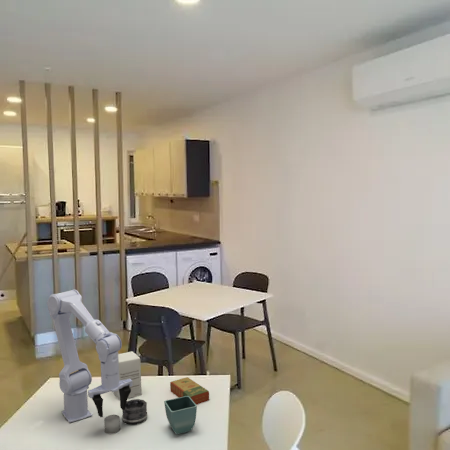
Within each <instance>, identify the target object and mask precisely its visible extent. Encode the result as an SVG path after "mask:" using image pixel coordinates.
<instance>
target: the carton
mask: <svg viewBox="0 0 450 450" xmlns="http://www.w3.org/2000/svg"><path fill="white" fill-rule="evenodd" d="M169 383H170V384H169V385H170V387H169V388H170V392H171V393H172V394H173V395H175V397H176V398H180V397H184V396H189V397H190V398H191V399H192V400H193V402H194V403H195V404H196V405H197V406H198V405H200V404H203V403H206V402H209V401H210V392H209V390H208V389H207V388H205V387H203V386H202V385H200V384H198V383H197V382H196V381H194V380H192V379H191V378H190V377H187V376H186V377H183V378H179V379H176V380H173V381H170V382H169Z"/></svg>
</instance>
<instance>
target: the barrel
mask: <svg viewBox="0 0 450 450" xmlns="http://www.w3.org/2000/svg"><path fill="white" fill-rule="evenodd" d="M147 404H148V402H147V401H145V400H144V399H141V398H140V399H139V398H137V399H130V400H127V402H126V406H125V410H122V409H121V411H122V416H121V417H122V418H121V420H122V422H123V424H125V425H130V426H137V425H140V424H142V423H144V422H145V421H147V420H148V410H147V409H148V408H147V407H148V406H147Z"/></svg>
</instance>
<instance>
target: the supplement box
mask: <svg viewBox="0 0 450 450" xmlns="http://www.w3.org/2000/svg"><path fill="white" fill-rule="evenodd" d="M118 360H119V381H120V380H127V379H131V380H132V385H133V386H131V387H130V388H131V392H130V394H129V396H128V399H131V398H132V399H133V398H135V397H139V396H142V373H141V372H142V370H141V365H142V364H141V358H140V357H139V356H138V355H137V354H136V353H135V351H128V352H123V353H118ZM113 394H114V395H115V397H116V398H117V399H118V400H119V401H120V394H119V389H118V391H115V392H114V393H113Z"/></svg>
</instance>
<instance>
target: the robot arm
mask: <svg viewBox="0 0 450 450" xmlns="http://www.w3.org/2000/svg"><path fill="white" fill-rule="evenodd" d="M46 305H47V308H48V313H49V316H50V319H52V322H53V326H54V330H55V334H56V338H57V342H58V346H59V349H60V353H61V358H62V361H63V367H62V369H61V370H60V371H59V373H58V378H59V389H60V390H61V393H63V409H64V410H62V411H61V414H62V415H63V417H64V418H65V419H66V420H67V421H68V423H74V422H77V421H80V420H83V419H86V418H89V417H92V416H93V414H92V412H91V411H90V410H89V409H88V408H89V407H88V406H89V405H88V401H89V400H88V398H89V399H91V400H92V401H93V403H94V405H95V407H96V411H97V415H98V417H99V418H103V417H104V412H103V410H104V409H103V405H104V404H103V402H104V398H102V395H103V394H107V393H110V392H111V393H113V392H115V391H118V389H119V394H120V400H119V407H120V409H121V411H122V410H125V406H126V402H127V401H128V399H129V398H128V396H129V394H130V392H131V388H130V387H131V386H133V385H132V380H131V379H127V380H120V381H119V360H118V354H119V351H120V350H121V349H122V346H123V343H122V339H121V337H120V336H119V335H118V334H117V333H114V332H112V331H109V329H107V327H106V326H105V325H104V323H102V322H101V320H99V319H95V318H94V317H93V316H92V314H91V313H90V312H89V310H88V309H87V308H86V306H85V304H84V303H83V297H82V294H80V291H78V290H77V289H71V290H66V291H63V292H60V293H59V292H58V293H52V294H50V295H49V296H48V299H47V302H46ZM71 315H74V317H75V318H77V320H79V321H80V323H82V324H83V326H84V331H85V333H86V334H87V335H88V336H89V338H90V339H91V340H92V342H93V343H94V344H95V350H96V353H97V355H98V360H99V361H100V376H101V377H100V378H101V384H100V385H98V386H96V387H93V388H91V389H89V387H90V385H91V384H92V380H93V376H92V373H91V371H90V369H89V368H88V364H87V363H85V362H83V361H81V360H80V358H79V354H78V349H77V345H76V341H75V338H74V333H73V330H72V326H71V322H70V317H71Z"/></svg>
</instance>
